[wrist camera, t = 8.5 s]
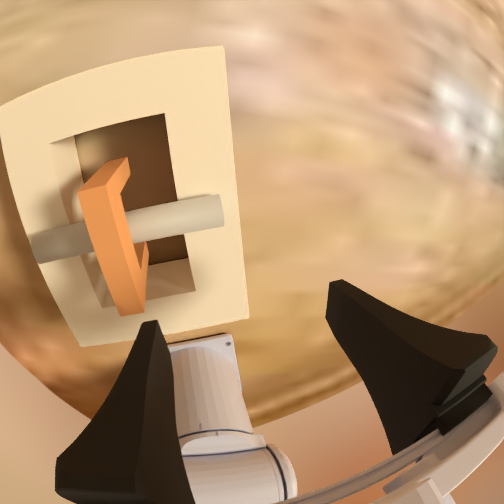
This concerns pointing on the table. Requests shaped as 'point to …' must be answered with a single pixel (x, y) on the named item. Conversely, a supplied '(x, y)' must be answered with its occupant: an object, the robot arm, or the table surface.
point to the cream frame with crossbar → (139, 220)
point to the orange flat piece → (115, 237)
